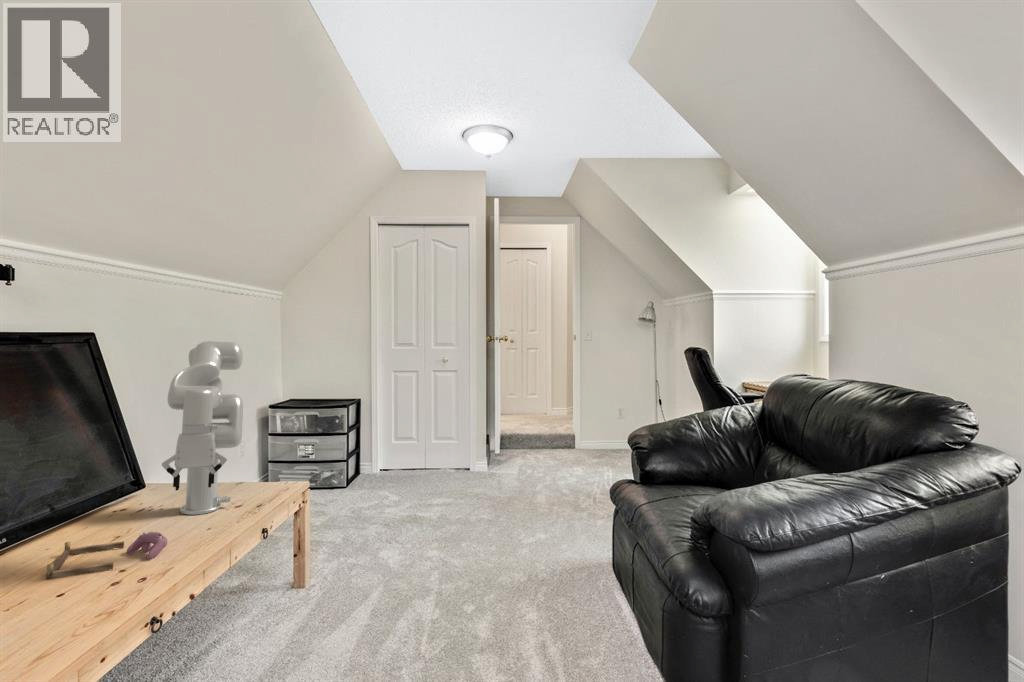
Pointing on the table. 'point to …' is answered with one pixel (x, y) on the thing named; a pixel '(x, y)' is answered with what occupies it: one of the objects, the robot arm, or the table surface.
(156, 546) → the video game controller
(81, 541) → the table surface
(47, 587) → the table surface
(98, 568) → the frame
